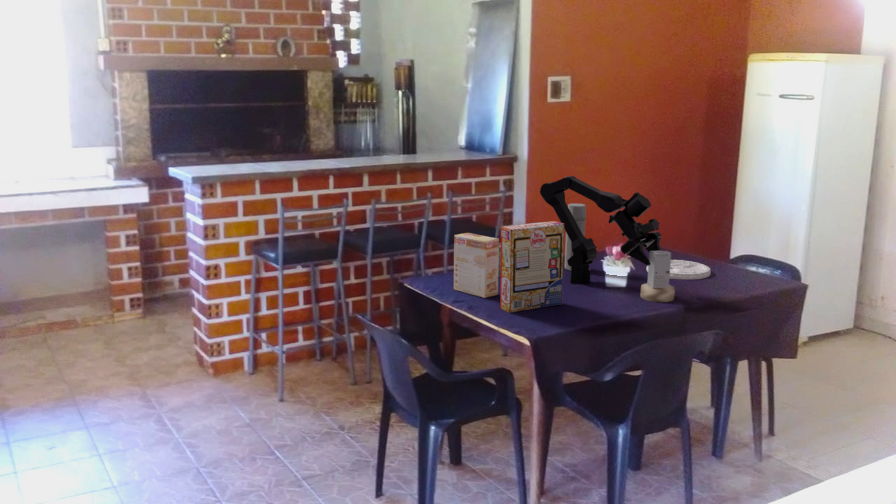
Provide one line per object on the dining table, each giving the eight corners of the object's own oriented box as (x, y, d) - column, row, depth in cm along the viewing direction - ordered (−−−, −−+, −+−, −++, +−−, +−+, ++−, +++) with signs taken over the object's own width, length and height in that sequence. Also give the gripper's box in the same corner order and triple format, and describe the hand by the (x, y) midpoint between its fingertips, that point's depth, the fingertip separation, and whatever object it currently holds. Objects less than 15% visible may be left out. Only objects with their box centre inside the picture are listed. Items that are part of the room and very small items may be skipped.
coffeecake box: (498, 294, 274) (499, 238, 270) (484, 298, 269) (485, 241, 265) (467, 286, 285) (467, 231, 280) (452, 289, 280) (453, 234, 276)
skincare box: (653, 289, 268) (655, 253, 266) (646, 285, 272) (648, 250, 270) (669, 288, 270) (672, 252, 267) (662, 284, 274) (665, 249, 271)
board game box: (552, 300, 268) (555, 220, 262) (563, 305, 262) (566, 223, 256) (498, 308, 259) (500, 225, 253) (509, 313, 253) (511, 229, 247)
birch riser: (641, 302, 268) (642, 290, 267) (639, 293, 278) (640, 282, 277) (675, 303, 266) (676, 292, 265) (672, 294, 276) (673, 283, 275)
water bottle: (579, 272, 304) (582, 207, 299) (560, 269, 308) (562, 205, 303) (588, 267, 312) (591, 203, 306) (570, 265, 316) (572, 202, 310)
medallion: (665, 282, 293) (665, 275, 293) (631, 264, 319) (632, 259, 318) (722, 278, 299) (723, 272, 298) (685, 261, 324) (685, 256, 324)
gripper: (631, 215, 263) (659, 253, 258) (658, 208, 277) (686, 244, 272) (608, 235, 270) (636, 272, 265) (636, 227, 283) (662, 263, 279)
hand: (656, 262), depth 270 cm, fingers open, 9 cm apart
